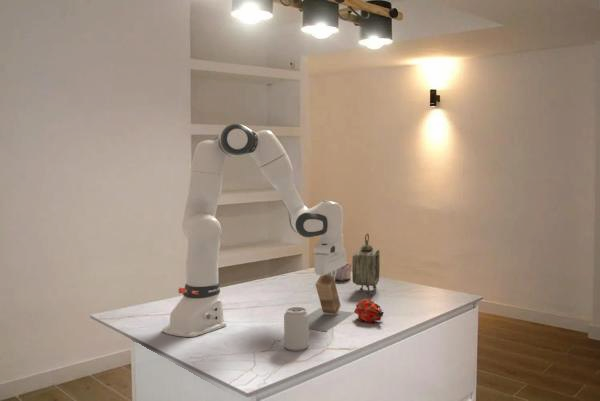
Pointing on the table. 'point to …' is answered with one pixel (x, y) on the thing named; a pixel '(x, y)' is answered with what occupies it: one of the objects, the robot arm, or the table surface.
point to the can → (296, 329)
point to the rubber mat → (325, 320)
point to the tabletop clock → (366, 266)
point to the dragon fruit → (368, 311)
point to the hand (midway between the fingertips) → (331, 282)
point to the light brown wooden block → (328, 295)
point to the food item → (343, 273)
